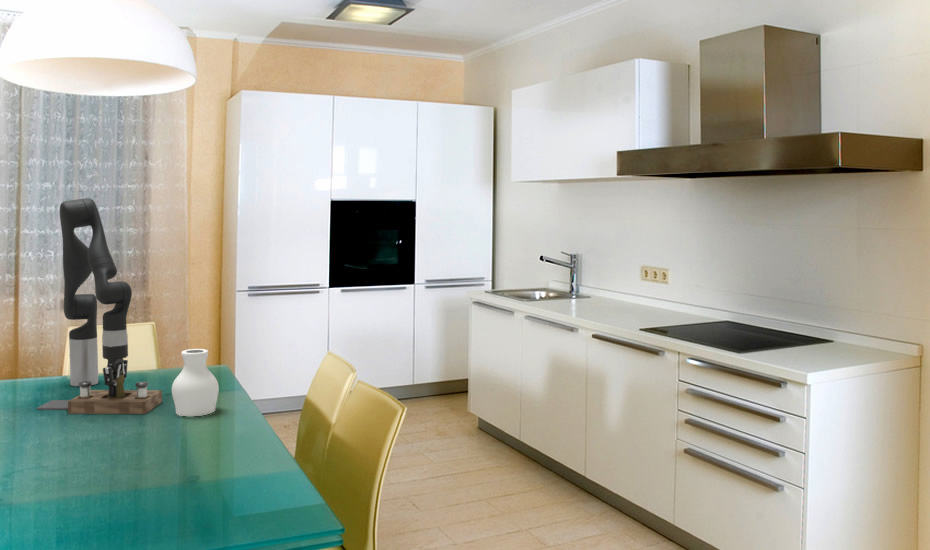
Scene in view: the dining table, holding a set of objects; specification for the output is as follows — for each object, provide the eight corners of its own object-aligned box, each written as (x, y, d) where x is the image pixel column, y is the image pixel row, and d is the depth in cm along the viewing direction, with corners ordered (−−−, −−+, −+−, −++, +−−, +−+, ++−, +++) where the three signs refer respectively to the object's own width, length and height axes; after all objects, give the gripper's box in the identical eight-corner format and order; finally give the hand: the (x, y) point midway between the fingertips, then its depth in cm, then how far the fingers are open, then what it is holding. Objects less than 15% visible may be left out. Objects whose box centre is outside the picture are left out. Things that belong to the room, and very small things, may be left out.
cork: (130, 405, 251) (129, 373, 250) (120, 410, 245) (119, 376, 244) (113, 405, 251) (112, 372, 251) (102, 409, 245) (101, 376, 245)
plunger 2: (138, 405, 248) (138, 381, 248) (150, 405, 248) (149, 381, 248) (134, 408, 245) (133, 384, 244) (146, 408, 245) (145, 384, 244)
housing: (89, 401, 255) (89, 389, 255) (162, 402, 256) (161, 390, 256) (68, 413, 240) (67, 401, 240) (145, 413, 241) (145, 401, 241)
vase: (198, 404, 254) (197, 345, 252) (228, 410, 247) (227, 349, 245) (162, 413, 242) (161, 351, 240) (192, 420, 235) (191, 356, 233)
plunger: (82, 405, 248) (81, 381, 247) (94, 405, 248) (93, 381, 247) (77, 408, 244) (76, 383, 243) (89, 408, 244) (88, 383, 243)
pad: (52, 401, 254) (52, 400, 254) (82, 402, 254) (82, 400, 254) (36, 409, 244) (36, 407, 244) (68, 409, 245) (68, 408, 244)
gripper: (112, 339, 253) (113, 389, 255) (93, 347, 239) (94, 400, 240) (135, 339, 254) (136, 389, 255) (117, 347, 239) (119, 400, 241)
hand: (116, 394), depth 248 cm, fingers closed on cork, 5 cm apart
